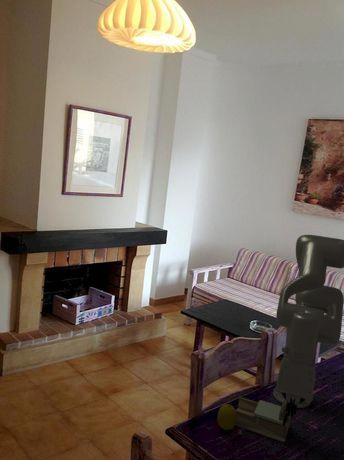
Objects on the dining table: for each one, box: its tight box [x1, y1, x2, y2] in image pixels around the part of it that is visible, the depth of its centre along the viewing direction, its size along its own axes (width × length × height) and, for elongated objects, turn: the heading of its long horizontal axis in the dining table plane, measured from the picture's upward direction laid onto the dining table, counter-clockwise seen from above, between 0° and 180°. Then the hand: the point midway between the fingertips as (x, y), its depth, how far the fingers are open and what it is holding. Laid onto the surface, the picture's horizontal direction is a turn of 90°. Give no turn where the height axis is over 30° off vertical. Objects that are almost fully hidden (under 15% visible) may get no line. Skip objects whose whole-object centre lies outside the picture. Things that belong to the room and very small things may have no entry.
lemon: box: [217, 403, 237, 431], centre depth 121 cm, size 6×6×8 cm
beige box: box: [234, 396, 291, 443], centre depth 126 cm, size 9×16×4 cm, turn 67°
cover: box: [254, 399, 287, 425], centre depth 124 cm, size 9×8×3 cm
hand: (290, 414), depth 122 cm, fingers closed
